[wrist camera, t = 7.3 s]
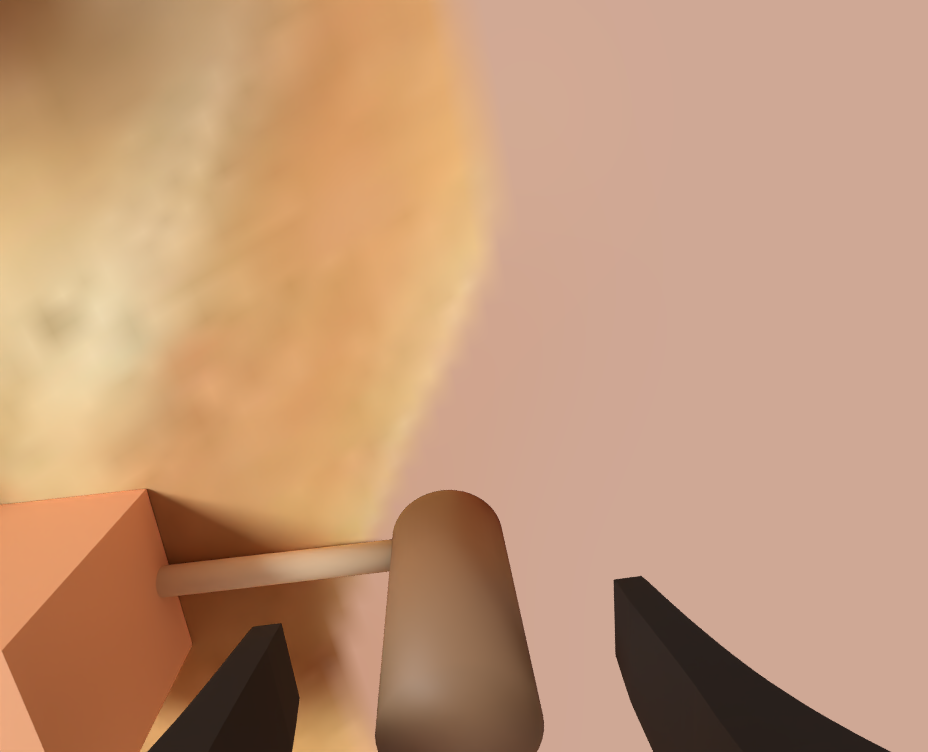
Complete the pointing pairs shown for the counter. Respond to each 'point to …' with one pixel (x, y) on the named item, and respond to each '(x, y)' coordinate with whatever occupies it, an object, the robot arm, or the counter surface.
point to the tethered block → (159, 584)
